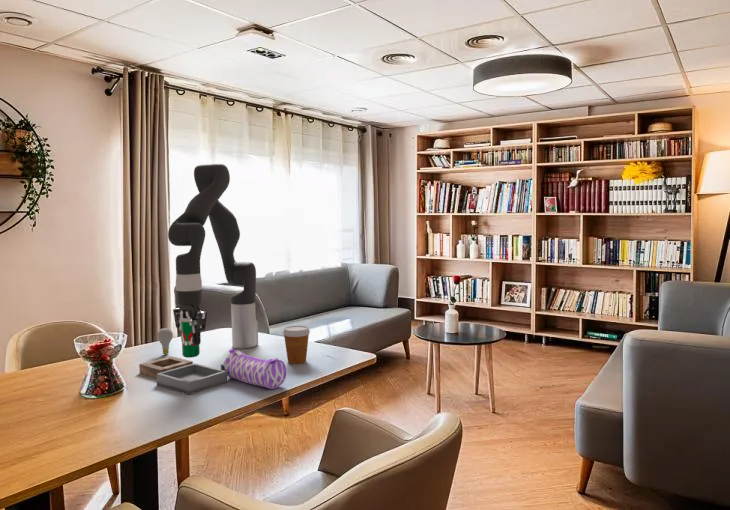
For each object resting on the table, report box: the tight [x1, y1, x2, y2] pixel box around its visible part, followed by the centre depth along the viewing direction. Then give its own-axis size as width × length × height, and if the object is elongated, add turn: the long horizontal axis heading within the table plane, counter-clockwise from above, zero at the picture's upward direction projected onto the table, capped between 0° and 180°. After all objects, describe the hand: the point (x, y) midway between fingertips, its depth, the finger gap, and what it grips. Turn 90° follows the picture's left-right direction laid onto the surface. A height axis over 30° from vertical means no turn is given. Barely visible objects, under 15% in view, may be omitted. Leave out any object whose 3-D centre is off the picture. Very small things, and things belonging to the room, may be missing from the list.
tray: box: [156, 362, 229, 396], centre depth 165 cm, size 14×16×4 cm
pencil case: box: [220, 348, 287, 390], centre depth 165 cm, size 22×9×10 cm, turn 52°
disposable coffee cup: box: [282, 325, 311, 365], centre depth 187 cm, size 10×10×12 cm
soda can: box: [181, 317, 201, 358], centre depth 164 cm, size 5×5×12 cm
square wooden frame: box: [138, 355, 194, 379], centre depth 178 cm, size 12×12×3 cm
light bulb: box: [156, 327, 174, 356], centre depth 200 cm, size 6×6×10 cm
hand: (190, 343), depth 164 cm, fingers closed on soda can, 5 cm apart
